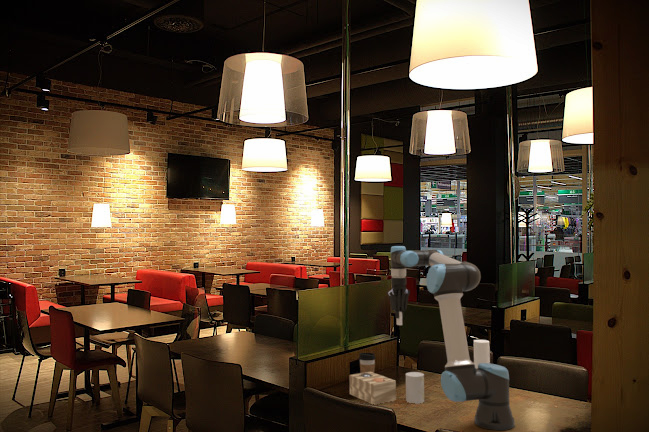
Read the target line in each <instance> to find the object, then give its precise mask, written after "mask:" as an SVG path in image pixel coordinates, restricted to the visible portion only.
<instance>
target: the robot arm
mask: <svg viewBox="0 0 649 432" xmlns="http://www.w3.org/2000/svg"><path fill="white" fill-rule="evenodd" d="M421 266H422V267H424V266H427V267H428V266H429V268H428V271H427V272H428V273H426V279H425V280H426V282H425V283H426V288H427V291H428V292H429V293H430V294H433V297H434V299H435V300H436V301H437V302H438V305H439V306H438V307H439V314H440V319H441V325H442V327H441V328H442V332H443V339H444V346H445V352H446V353H445V354H446V359H447V362H446V364H445V365H444V371H442V373H441V375H440V377H441V378H440V385H441V389H442V391H443V393H444V395H445V396H446V398H447V399H448V400H450V401H451V402H461V403H464V402H467V401H468V402H469V401H476V400H478V404H477V408H476V412H475V415H474V424H475V425H476V426H478V427H480V428H482V429H486V430H489V431H491V430H492V431H507V430H512V429H513V428H514V427H515V426H516V425H515V423H516V422H515V418H514V417H513V412H512V409H511V406H510V374H509V370H508V369H507V368H506V366H502V365H500V364H494V363H491V362H490V363H479V364H478V368H477V369H475V364H474V361H472V360H471V358H470V352H469V346H468V341H467V334H466V333H467V332H466V329H465V328H466V327H465V320H464V315H463V309H462V303H461V298H462V297H463V296H464V293H463V292H469V291H472V290H473V289H475V288H476V287H478V285H479V284H480V281H481V278H482V275H481V271H480V269H479V268H478V266H476V265H475V264H473V263H471V262H468V261H460V260H457V259H455V258H453V257H450V256H447V255H445V254H444V253H443V251H442V250H440V249H427V250H425V249H424V250H418V249H417V250H416V249H415V250H407V248H406V246H404V245H394V246H391V247H390V275H391V278H390V285H391V288H390V289H391V290H389V291H387V293H386V294H387V295H388V298H389V302H390V307H391V311H394V313H395V314H394V316H395V317H394V318H395V319H396V325H397V326H403V318H404V313H405V311H407V310H408V309H407V308H408V302H409V296H410V293H411V290H409V289H407V277H406V276H407V267H408V268H413V267H421Z"/></svg>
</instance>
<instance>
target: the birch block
mask: <svg viewBox="0 0 649 432" xmlns="http://www.w3.org/2000/svg"><path fill="white" fill-rule="evenodd" d="M364 373H369V374H371V376H370V377H362V376H361V374H363V373H361V372H359V373H353V374H349V377H348V378H349V379H348V381H349V395H351V396H353V397H355V398H357V399H360V400H362V401H364V402H366V403H369V404H370V405H373V404H374V405H373V406H376V405H377V404H378V405H381V404H380V403H383V404H385V403H384V402H388V403H390V402H389V401H392V402H395V401H394V400H396V401H397V389H396V388H397V383H396V380H395V379H392V378H389V377H387V376H384V375H382V374H378V373H375V372H374V373H373V372H364ZM374 378H383V381H382V382H375V381H374ZM378 405H377V406H378Z"/></svg>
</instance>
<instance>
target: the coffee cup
mask: <svg viewBox="0 0 649 432" xmlns="http://www.w3.org/2000/svg"><path fill="white" fill-rule="evenodd" d="M358 360H359V368H360V373H364V372H373V373H375V366H376V362H375V360H376V355H375V353H374V352H359V355H358Z"/></svg>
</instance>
